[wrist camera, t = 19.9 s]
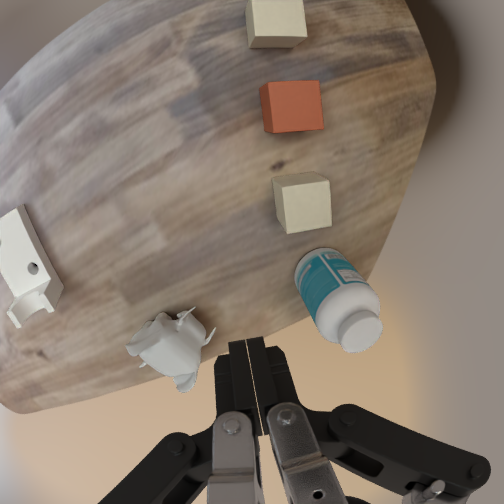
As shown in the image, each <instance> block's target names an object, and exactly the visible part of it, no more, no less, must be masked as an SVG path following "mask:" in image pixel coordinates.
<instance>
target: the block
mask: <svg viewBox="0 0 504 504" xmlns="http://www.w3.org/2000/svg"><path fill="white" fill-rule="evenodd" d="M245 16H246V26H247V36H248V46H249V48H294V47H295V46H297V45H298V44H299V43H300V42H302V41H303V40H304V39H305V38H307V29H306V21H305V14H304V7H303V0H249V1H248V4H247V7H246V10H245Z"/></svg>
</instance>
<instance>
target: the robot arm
mask: <svg viewBox="0 0 504 504" xmlns="http://www.w3.org/2000/svg"><path fill="white" fill-rule="evenodd" d="M246 341H247V346H248V352H249V357H250V363H251V368H250V363H249V358H248V353H247V348H246V343H245V340H239V341H233V342H228V345H229V354H226V355H220V356H218V357H217V360H216V362H215V364H214V375H215V394H216V410H217V415H216V419H215V421H214V423H213V424H212V425H211V426H210V427H209V428H208V429H206V430H205V431H202V432H200V433H197V434H195V435H192V436H189V435H187V434H185V433H181V432H175V433H171V434H169V435H167V436H165V437H164V438H163V439H162V440H161V441H160V442H159V443H158V444H157V445H156V446H155V447H154V448H153V450H152V451H151V452H150V453H149V454H148V455H147V456H146V457H145V458H144V459H143V460H142V461H141V462H140V463H139V464H138V465H137V466H136V467H135V468H134V469H133V470H132V471H131V472H130V473H129V474H128V475H127V476H126V477H125V478H124V479H123V480H122V481H121V482H120V483H119V484H118V485H117V486H116V487H115V488H114V489H113V490H112V491H111V492H110V493H108V494H107V495H106V496H105V497H104V498H103V499H102V500H101V501H100V502H99V503H98V504H191V503H192V502H193V501H194V500H195V499H196V497H197V496H198V495H199V494H200V493H201V491H202V490H203V489H204V488H205V487H206V486H207V504H265V501H264V495H263V488H262V476H261V465H260V453H259V452H260V446H259V441H258V436H262V429H261V423H260V418H259V413H258V408H257V402H258V407H259V412H260V417H261V422H262V426H263V431H264V435H268V434H269V436H270V441H271V445H272V450H273V454H274V457H275V460H276V464H277V467H278V470H279V473H280V476H281V479H282V483H283V486H284V489H285V493H286V496H287V499H288V503H289V504H370V503H368V502H366V501H364V500H361V499H359V498H355V497H351V496H345V495H344V493H343V491H342V488H341V486H340V484H339V481H338V479H337V477H336V475H335V472H334V470H333V468H332V466H331V463H330V461H332V462H334V463H336V464H338V465H339V466H341V467H343V468H345V469H347V470H348V471H350V472H352V473H354V474H356V475H358V476H360V477H362V478H364V479H366V480H368V481H370V482H373V483H375V484H377V485H379V486H381V487H383V488H385V489H388V490H390V491H392V492H394V493H397V494H399V495H402V496H404V497H403V500H402V504H466V502H467V499H468V497H469V496H470V494H471V493H473V492H474V491H476V490H477V489H479V488H480V487H481V486H483V485H484V484H485V483H486V482H487V480H488V479H489V476H490V473H491V467H490V463H489V461H488V460H487V459H486V458H484V457H483V456H480V455H477V454H474V453H471V452H468V451H465V450H462V449H459V448H456V447H454V446H451V445H448V444H445V443H443V442H440V441H437V440H435V439H432V438H430V437H427V436H425V435H422V434H420V433H417V432H415V431H412V430H410V429H408V428H405V427H403V426H400V425H398V424H396V423H394V422H391V421H389V420H387V419H385V418H383V417H380V416H378V415H376V414H374V413H372V412H369V411H367V410H365V409H363V408H361V407H359V406H357V405H354V404H343V405H340V406H338V407H336V408H335V409H333V410H332V412H324V411H312V410H310V409H307V408H306V407H304V406H303V405H302V404H301V403H300V401H299V399H298V396H297V393H296V390H295V386H294V383H293V380H292V377H291V373H290V371H289V367H288V364H287V360H286V357H285V354H284V352H283V351H282V350H281V349H280V348H279V347H278V346H272V347H267V348H265V343H264V339H263V336H261V337H256V338H250V339H246ZM251 369H252V374H251ZM252 375H253V379H252ZM253 380H254V385H253ZM254 386H255V391H256V397H257V402H256V397H255V391H254ZM329 460H330V461H329Z"/></svg>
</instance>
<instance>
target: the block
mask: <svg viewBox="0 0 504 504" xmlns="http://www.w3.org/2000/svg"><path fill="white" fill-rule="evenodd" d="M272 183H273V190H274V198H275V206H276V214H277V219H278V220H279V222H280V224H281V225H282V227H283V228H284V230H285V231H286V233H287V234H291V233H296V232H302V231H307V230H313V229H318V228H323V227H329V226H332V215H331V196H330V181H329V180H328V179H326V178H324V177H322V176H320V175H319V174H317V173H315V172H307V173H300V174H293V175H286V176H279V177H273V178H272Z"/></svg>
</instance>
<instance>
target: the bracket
mask: <svg viewBox="0 0 504 504" xmlns="http://www.w3.org/2000/svg"><path fill="white" fill-rule="evenodd" d="M34 263H35V264H36V265H37V266H38V267H36V266H35V265H34ZM0 272H1V274H2V276H3V277H4V279H5V281H6V283H7V284H8V286H9V288H10V290H11V291H12V293H13V295H14V296H15V299H14V301H13V303H12V304H11V306H10V308H9V310H8V311H7V314H8V316H9V317H10V319H11V320H12V322H13V323H14V325H15V326H16V327H17V329H18V328H20V327H22V325H23V324H24V322H25V321H26V320H27V319H28V318H29V317H30V316H31V315H32V314H33V313H35V312H36V311H38V310H40V309H42V308H46V309H47V311H48V312H49V313H51V312H53V311H55V308H56V305H57V303H58V300H59V298H60V295H61V293H62V290H63V288H64V286H63V284H62V282H61V280H60V279H59V277H58V275H57V273H56V271H55V270H54V268H53V266H52V264H51V262H50V260H49V258H48V256H47V254H46V252H45V250H44V248H43V246H42V244H41V242H40V240H39V238H38V236H37V234H36V232H35V230H34V227H33V225H32V223H31V221H30V218H29V216H28V214H27V211H26V209H25V207H24V204H22V205H20V206H19V207H17V208H15V209H14V210H12V211H11V212H9V213H8V214H6V215H4V216H3V217H2V218H0Z"/></svg>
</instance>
